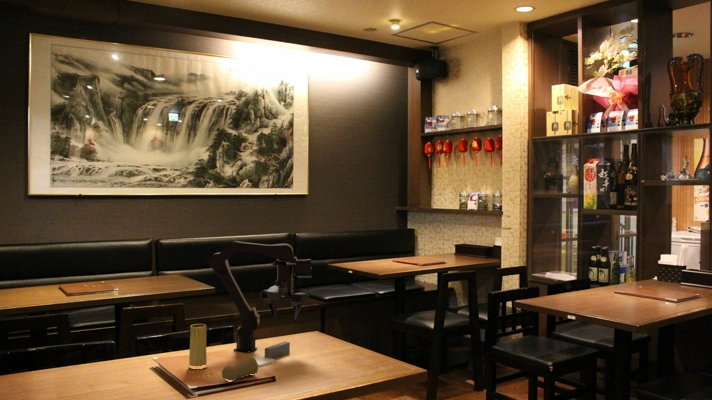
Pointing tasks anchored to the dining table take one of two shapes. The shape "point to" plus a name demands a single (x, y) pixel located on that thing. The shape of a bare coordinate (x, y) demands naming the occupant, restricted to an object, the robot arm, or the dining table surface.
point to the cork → (240, 369)
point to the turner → (273, 353)
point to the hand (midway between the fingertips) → (284, 318)
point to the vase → (198, 345)
